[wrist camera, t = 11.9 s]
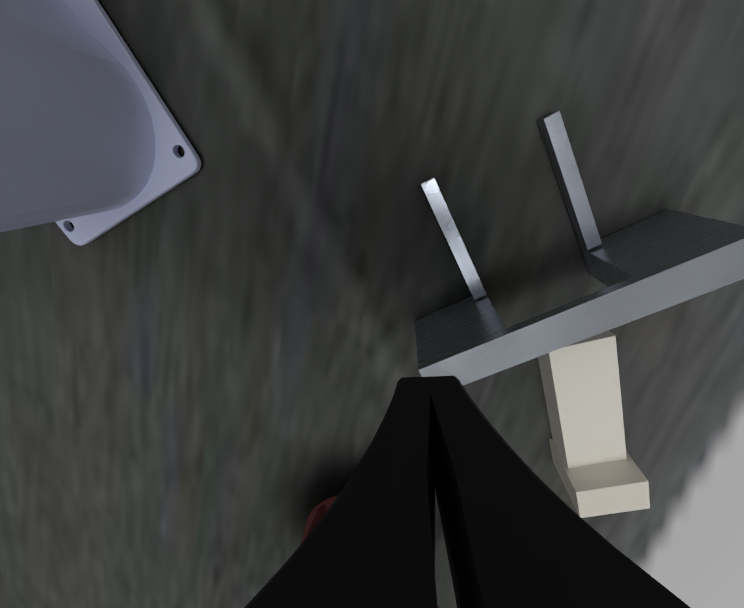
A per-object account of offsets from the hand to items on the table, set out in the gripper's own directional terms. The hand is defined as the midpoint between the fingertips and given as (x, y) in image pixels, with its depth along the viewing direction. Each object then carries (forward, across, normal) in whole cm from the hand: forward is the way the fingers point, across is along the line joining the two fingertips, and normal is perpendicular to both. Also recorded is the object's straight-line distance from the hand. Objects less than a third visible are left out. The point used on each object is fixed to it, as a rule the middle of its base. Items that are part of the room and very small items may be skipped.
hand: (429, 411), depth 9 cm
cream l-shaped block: (+10, -8, +8) cm, 15 cm away
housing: (+10, -5, -2) cm, 11 cm away
